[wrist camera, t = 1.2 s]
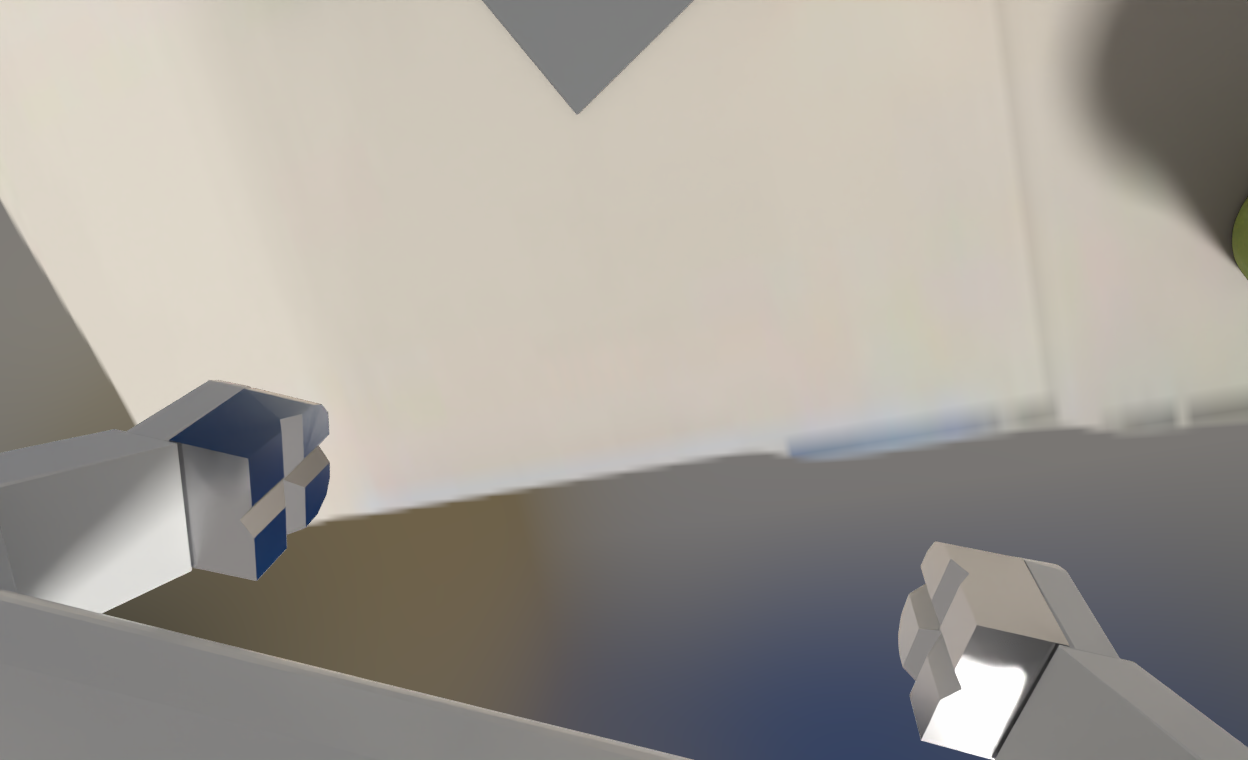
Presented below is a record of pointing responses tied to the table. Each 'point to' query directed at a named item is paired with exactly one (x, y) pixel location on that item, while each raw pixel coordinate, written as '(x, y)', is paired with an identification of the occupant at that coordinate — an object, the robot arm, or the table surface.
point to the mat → (584, 38)
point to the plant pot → (1241, 239)
